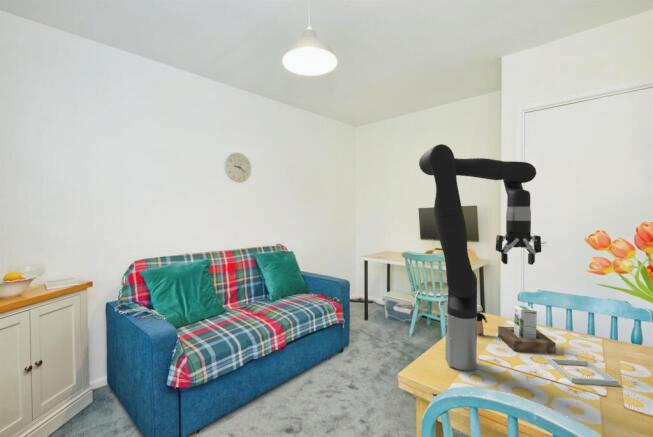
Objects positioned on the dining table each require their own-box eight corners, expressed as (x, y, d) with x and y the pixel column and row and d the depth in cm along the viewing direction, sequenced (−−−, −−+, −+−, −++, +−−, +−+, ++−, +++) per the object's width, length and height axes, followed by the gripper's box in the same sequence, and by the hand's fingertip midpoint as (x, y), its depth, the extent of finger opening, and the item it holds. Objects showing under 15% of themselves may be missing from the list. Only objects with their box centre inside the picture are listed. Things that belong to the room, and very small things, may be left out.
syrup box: (513, 340, 120) (513, 305, 120) (528, 341, 119) (529, 305, 119) (520, 347, 114) (520, 309, 114) (536, 348, 114) (537, 310, 113)
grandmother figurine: (481, 331, 129) (481, 302, 129) (488, 335, 125) (488, 305, 125) (467, 334, 127) (467, 304, 126) (474, 337, 123) (474, 307, 123)
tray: (571, 382, 91) (571, 378, 91) (547, 362, 103) (547, 357, 103) (617, 386, 89) (617, 381, 89) (587, 364, 101) (587, 360, 101)
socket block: (514, 351, 111) (514, 340, 111) (498, 335, 125) (498, 326, 125) (555, 353, 109) (555, 343, 109) (534, 337, 123) (534, 328, 123)
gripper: (501, 219, 105) (501, 265, 105) (546, 219, 103) (545, 266, 103) (493, 219, 112) (492, 261, 113) (534, 219, 110) (533, 262, 111)
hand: (517, 264), depth 108 cm, fingers open, 8 cm apart
